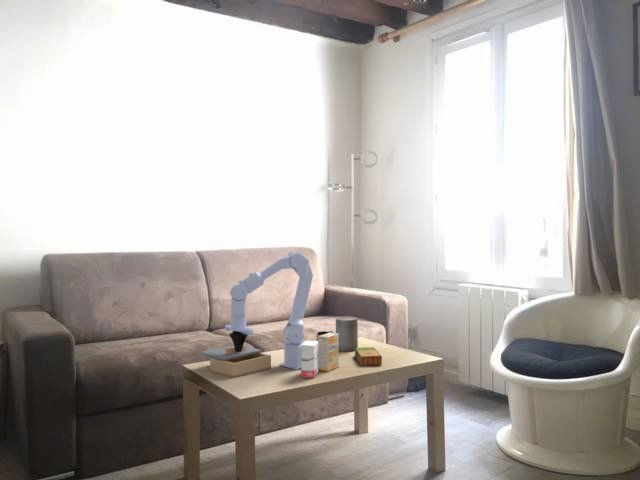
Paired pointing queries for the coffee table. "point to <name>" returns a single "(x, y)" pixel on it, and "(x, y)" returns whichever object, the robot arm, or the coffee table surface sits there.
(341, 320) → the pillar candle
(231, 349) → the lid
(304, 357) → the ink box
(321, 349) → the supplement box
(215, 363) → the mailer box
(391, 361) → the coffee table surface
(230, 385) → the coffee table surface
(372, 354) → the carton
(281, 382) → the coffee table surface
